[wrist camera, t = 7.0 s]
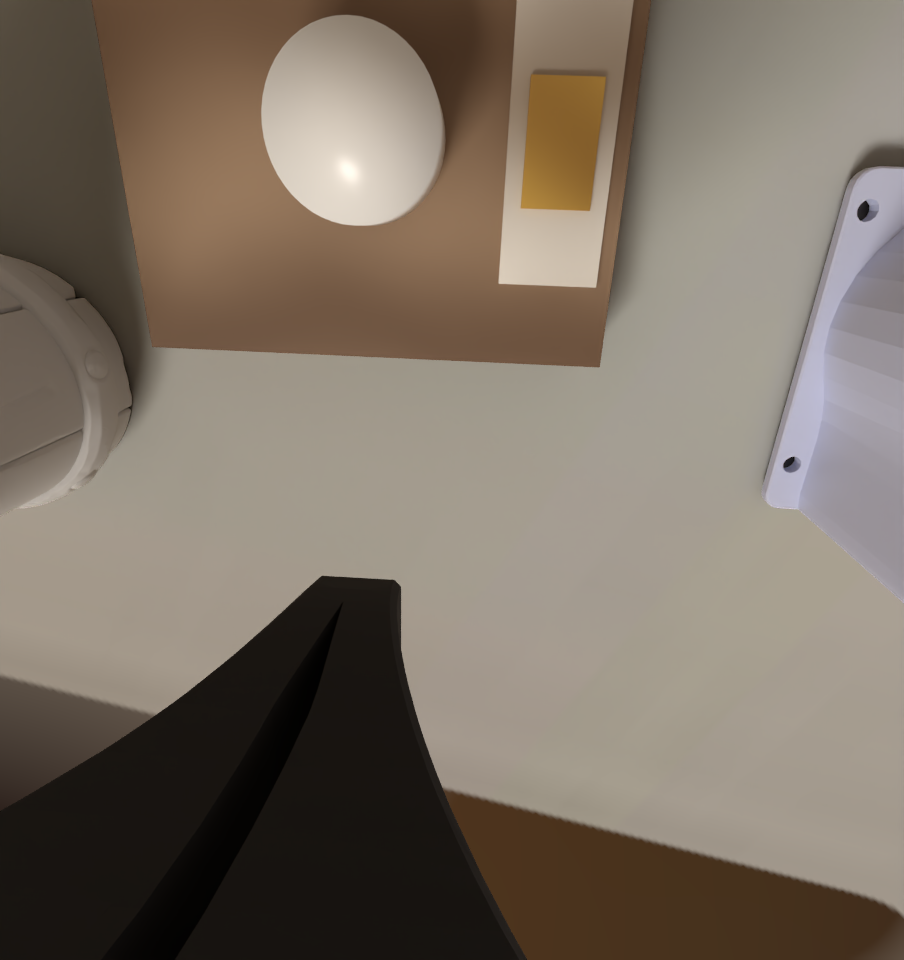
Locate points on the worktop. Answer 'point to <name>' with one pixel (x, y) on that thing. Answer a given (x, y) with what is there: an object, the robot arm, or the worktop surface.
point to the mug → (54, 387)
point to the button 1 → (353, 121)
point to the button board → (415, 237)
